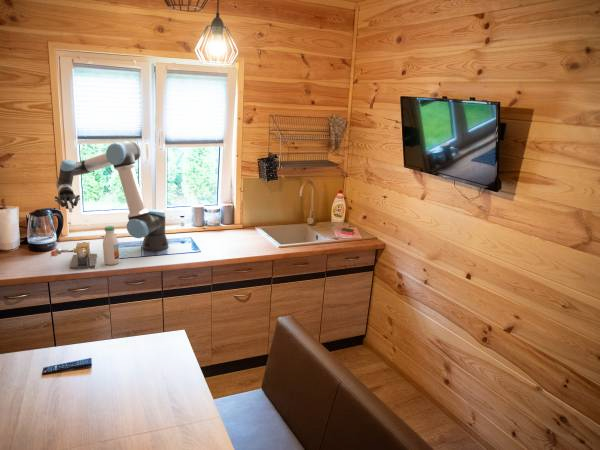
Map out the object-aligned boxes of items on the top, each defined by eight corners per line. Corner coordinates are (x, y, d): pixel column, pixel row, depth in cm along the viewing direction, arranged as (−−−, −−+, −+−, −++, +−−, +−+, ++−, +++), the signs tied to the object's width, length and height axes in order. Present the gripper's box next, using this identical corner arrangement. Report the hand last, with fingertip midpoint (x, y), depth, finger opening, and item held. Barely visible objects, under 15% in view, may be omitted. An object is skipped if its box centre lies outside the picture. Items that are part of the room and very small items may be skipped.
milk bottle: (110, 265, 246) (107, 229, 241) (101, 263, 249) (98, 227, 245) (122, 262, 252) (120, 226, 247) (113, 259, 256) (111, 224, 251)
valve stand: (97, 256, 259) (96, 238, 256) (95, 268, 242) (94, 249, 239) (73, 257, 255) (72, 239, 252) (69, 269, 238) (68, 250, 235)
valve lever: (73, 247, 246) (69, 250, 229) (73, 253, 246) (69, 256, 229) (55, 248, 243) (50, 250, 226) (56, 254, 244) (50, 257, 226)
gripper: (79, 198, 268) (84, 215, 250) (53, 199, 262) (57, 217, 244) (78, 186, 265) (83, 202, 247) (52, 187, 258) (56, 204, 241)
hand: (70, 210), depth 246 cm, fingers closed
